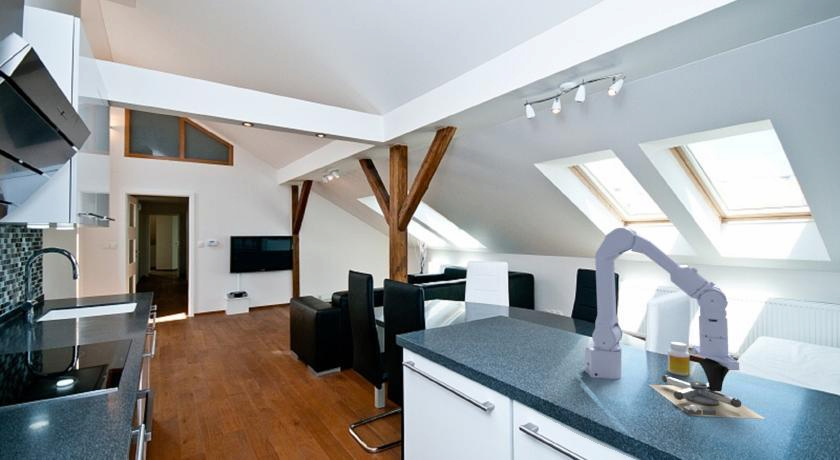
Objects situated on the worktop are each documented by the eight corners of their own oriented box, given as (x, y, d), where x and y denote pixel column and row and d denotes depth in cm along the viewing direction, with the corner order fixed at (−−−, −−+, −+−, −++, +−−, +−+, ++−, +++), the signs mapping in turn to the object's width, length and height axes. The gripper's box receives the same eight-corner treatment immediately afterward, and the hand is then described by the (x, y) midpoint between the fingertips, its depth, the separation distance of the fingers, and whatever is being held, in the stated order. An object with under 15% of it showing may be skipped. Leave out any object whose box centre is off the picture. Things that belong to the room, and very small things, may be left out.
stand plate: (689, 420, 86) (689, 415, 86) (648, 388, 104) (648, 384, 104) (765, 424, 85) (765, 418, 85) (710, 391, 103) (710, 386, 103)
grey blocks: (688, 414, 87) (688, 406, 87) (682, 410, 89) (682, 402, 89) (716, 415, 86) (716, 407, 86) (710, 411, 88) (710, 403, 88)
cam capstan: (718, 421, 84) (718, 404, 84) (640, 390, 100) (640, 376, 100) (761, 406, 91) (761, 391, 91) (683, 380, 108) (683, 367, 108)
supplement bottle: (693, 380, 111) (693, 346, 111) (672, 378, 112) (672, 345, 112) (684, 373, 116) (684, 341, 116) (664, 372, 117) (664, 340, 117)
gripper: (752, 343, 89) (754, 402, 89) (711, 329, 104) (712, 380, 103) (720, 342, 90) (722, 401, 89) (683, 329, 104) (685, 380, 104)
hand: (715, 390), depth 96 cm, fingers closed, pressing on cam capstan
